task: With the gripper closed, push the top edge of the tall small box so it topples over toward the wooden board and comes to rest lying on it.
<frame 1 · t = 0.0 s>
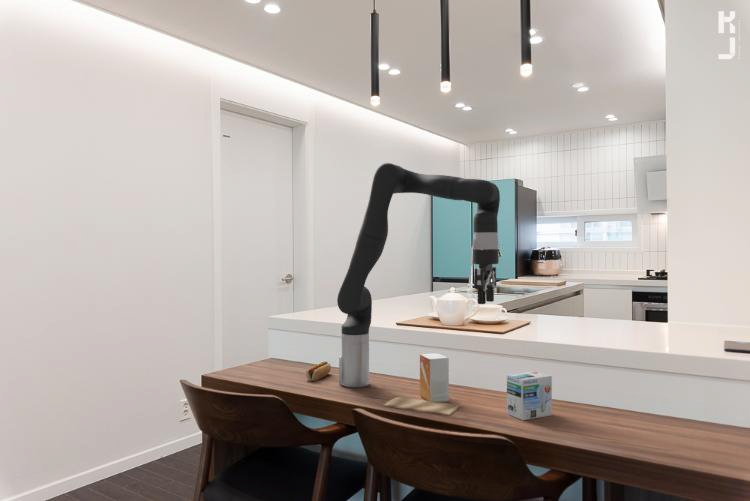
hand: (485, 302, 158), 29 cm above the table, tool pointing down, fingers open, 8 cm apart
food: (318, 378, 189), on the table
wooden board: (421, 406, 153), on the table
light bulb box: (529, 415, 145), on the table
small box: (434, 399, 161), on the table
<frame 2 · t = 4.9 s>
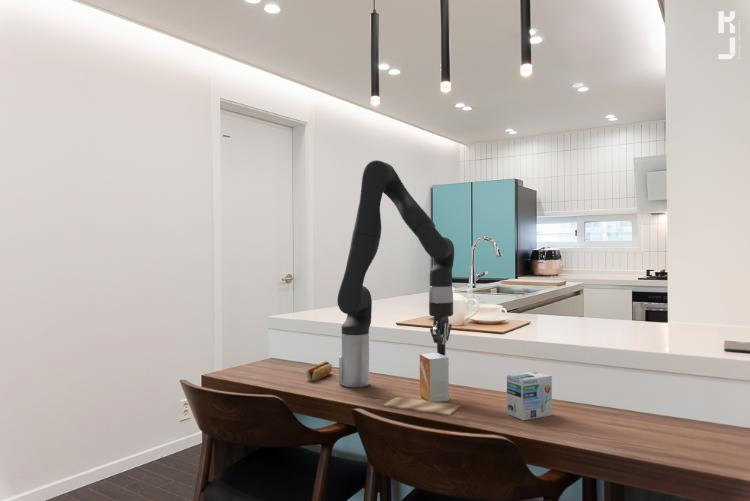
hand: (441, 355, 167), 12 cm above the table, tool pointing down, fingers closed
small box: (434, 399, 161), on the table, touching gripper
everything else where it was.
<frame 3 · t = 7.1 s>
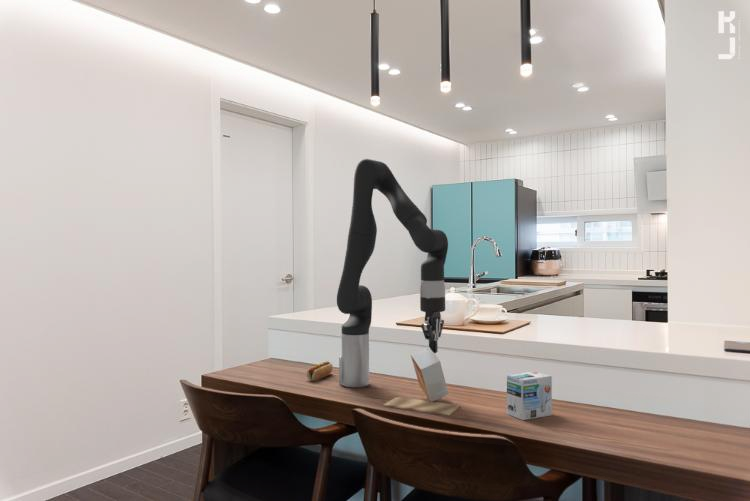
hand: (433, 352, 160), 14 cm above the table, tool pointing down, fingers closed
small box: (434, 391, 161), point 2 cm above the table, touching wooden board, gripper
everything else where it was.
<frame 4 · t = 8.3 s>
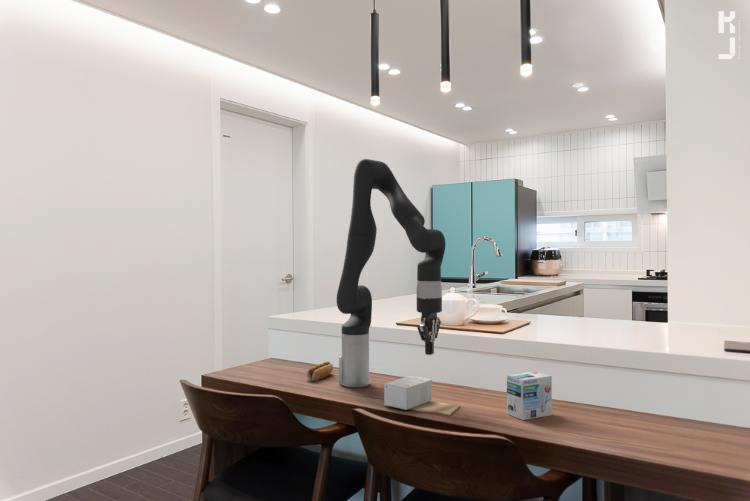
hand: (429, 354, 158), 14 cm above the table, tool pointing down, fingers closed
small box: (421, 387, 160), point 4 cm above the table, touching wooden board
everything else where it was.
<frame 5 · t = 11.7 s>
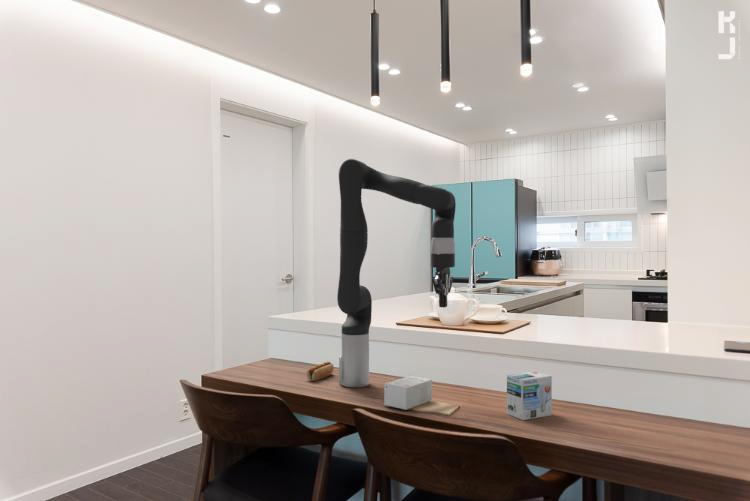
hand: (443, 307, 168), 27 cm above the table, tool pointing down, fingers closed
nothing on the table moved.
at the end: small box tilted 89°; small box inside the target area (9.2 cm from its centre), point 3.5 cm above the table; small box moved 5.4 cm from its start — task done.
